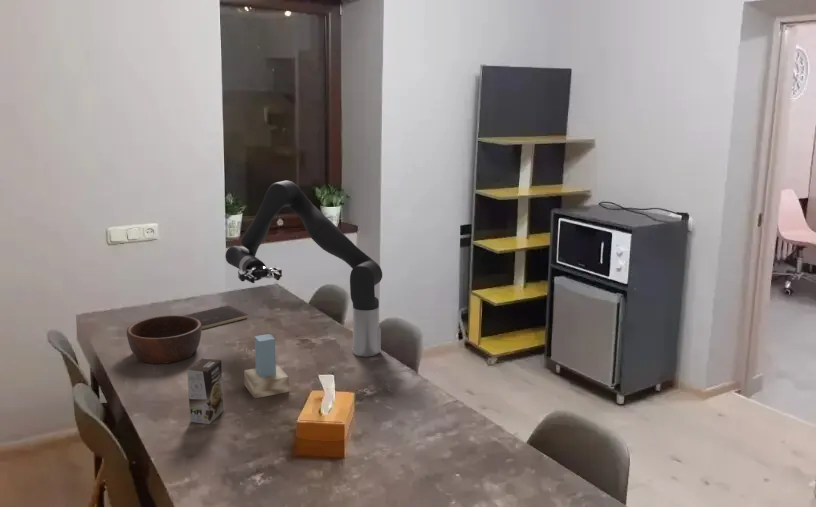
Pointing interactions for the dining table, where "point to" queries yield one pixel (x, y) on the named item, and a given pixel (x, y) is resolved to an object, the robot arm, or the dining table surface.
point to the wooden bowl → (164, 338)
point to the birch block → (266, 383)
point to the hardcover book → (218, 316)
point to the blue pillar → (265, 355)
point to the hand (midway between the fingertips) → (266, 278)
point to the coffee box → (205, 391)
